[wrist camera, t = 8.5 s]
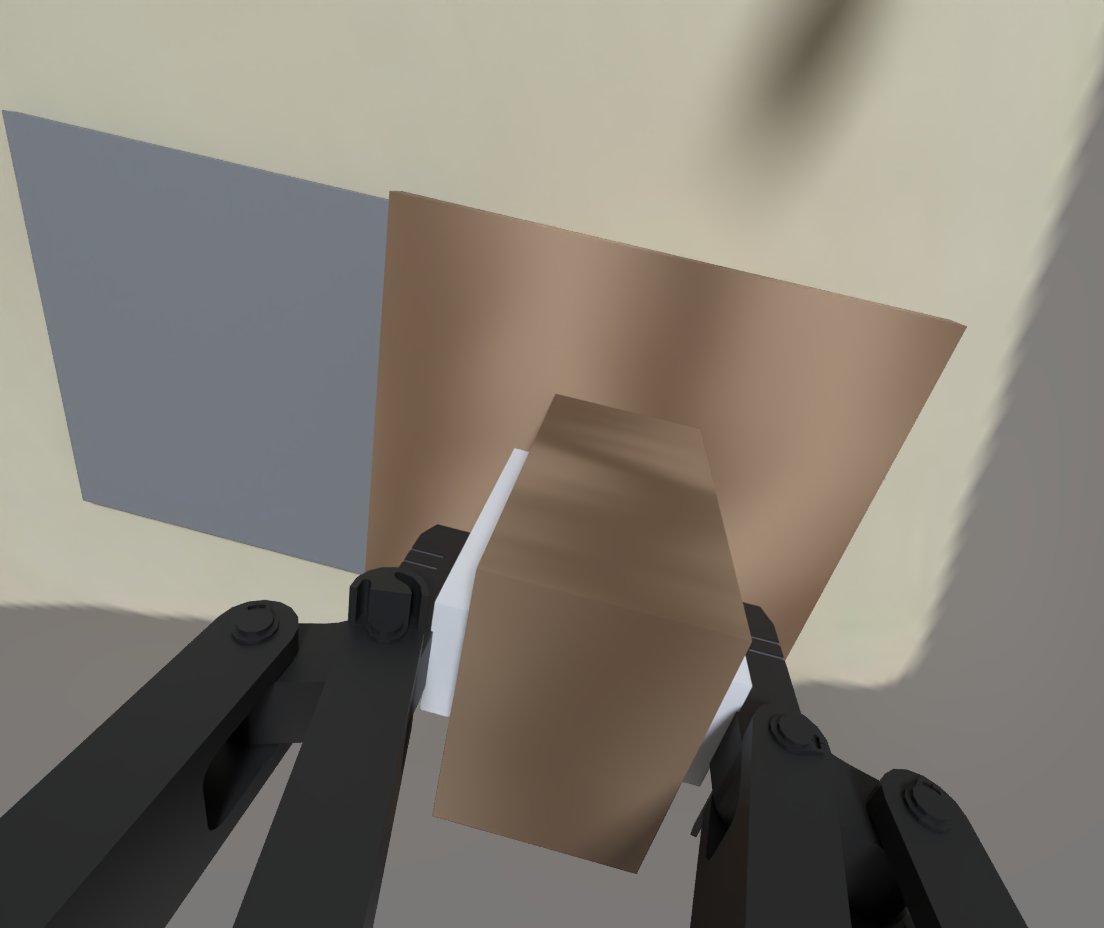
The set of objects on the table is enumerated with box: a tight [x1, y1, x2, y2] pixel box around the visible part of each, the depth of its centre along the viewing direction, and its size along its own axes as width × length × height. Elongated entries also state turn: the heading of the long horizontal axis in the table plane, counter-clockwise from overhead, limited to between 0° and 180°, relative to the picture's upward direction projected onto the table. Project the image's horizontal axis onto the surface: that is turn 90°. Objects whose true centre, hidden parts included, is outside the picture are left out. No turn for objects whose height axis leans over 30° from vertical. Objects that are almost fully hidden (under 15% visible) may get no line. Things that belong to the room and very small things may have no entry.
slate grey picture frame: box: [2, 110, 389, 575], centre depth 26 cm, size 18×18×1 cm
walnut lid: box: [365, 191, 967, 874], centre depth 13 cm, size 14×14×9 cm
